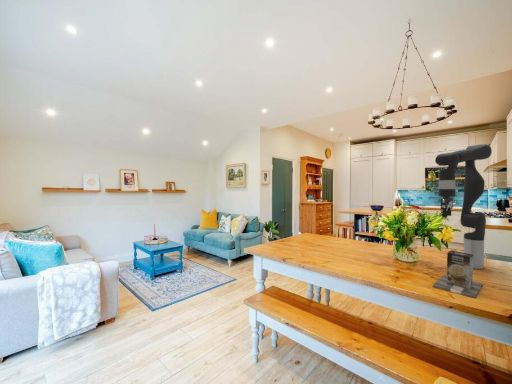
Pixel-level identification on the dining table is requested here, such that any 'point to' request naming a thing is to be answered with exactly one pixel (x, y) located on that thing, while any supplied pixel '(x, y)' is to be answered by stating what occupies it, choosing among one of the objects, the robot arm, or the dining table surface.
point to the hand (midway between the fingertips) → (446, 216)
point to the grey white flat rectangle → (471, 292)
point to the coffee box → (460, 269)
